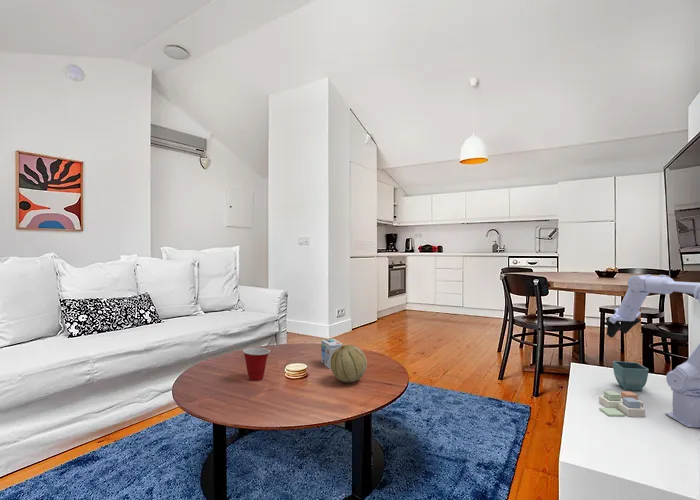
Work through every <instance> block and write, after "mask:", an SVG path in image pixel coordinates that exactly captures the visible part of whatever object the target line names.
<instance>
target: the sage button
mask: <svg viewBox="0 0 700 500" xmlns="http://www.w3.org/2000/svg"><path fill="white" fill-rule="evenodd" d="M603 396H604V398H606V399H607V400H609V401H621V393H618V392H617V391H615V390H603Z"/></svg>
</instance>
